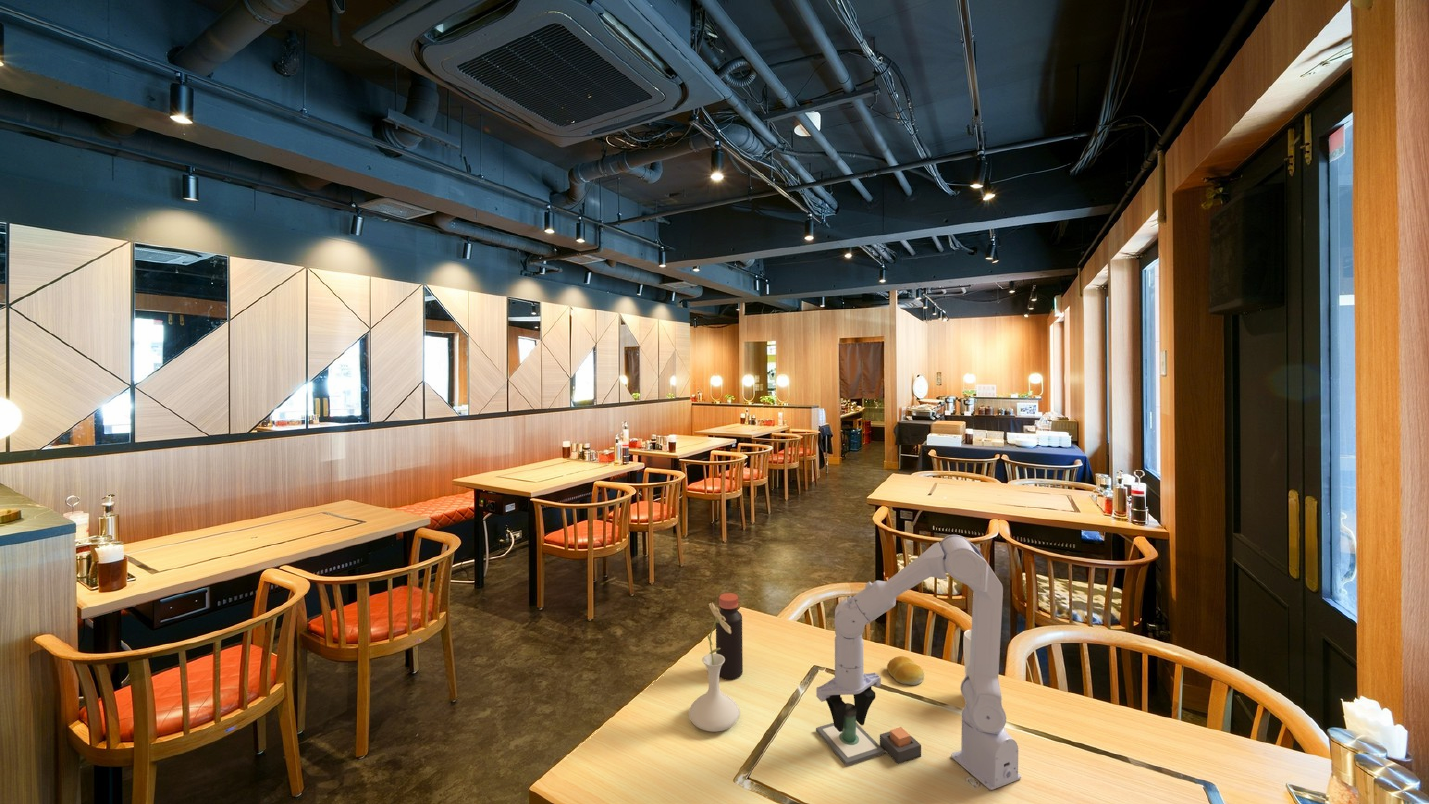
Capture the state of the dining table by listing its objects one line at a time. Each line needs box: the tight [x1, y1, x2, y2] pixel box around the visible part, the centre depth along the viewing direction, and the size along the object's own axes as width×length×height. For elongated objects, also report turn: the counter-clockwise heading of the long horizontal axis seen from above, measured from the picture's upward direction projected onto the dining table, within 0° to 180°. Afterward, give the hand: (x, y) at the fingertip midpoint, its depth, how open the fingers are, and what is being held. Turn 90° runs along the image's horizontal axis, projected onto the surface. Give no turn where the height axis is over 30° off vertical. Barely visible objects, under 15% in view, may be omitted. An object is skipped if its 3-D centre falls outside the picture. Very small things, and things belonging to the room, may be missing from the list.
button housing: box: [879, 730, 922, 765], centre depth 106 cm, size 6×6×2 cm
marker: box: [842, 702, 857, 742], centre depth 108 cm, size 3×3×6 cm
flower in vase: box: [688, 602, 741, 732], centre depth 116 cm, size 13×11×25 cm
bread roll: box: [886, 655, 925, 686], centre depth 132 cm, size 8×9×4 cm
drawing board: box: [815, 722, 885, 767], centre depth 108 cm, size 11×9×1 cm
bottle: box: [715, 592, 744, 681], centre depth 134 cm, size 7×7×20 cm
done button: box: [889, 726, 912, 748], centre depth 106 cm, size 3×3×2 cm
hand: (849, 725), depth 108 cm, fingers open, 5 cm apart
